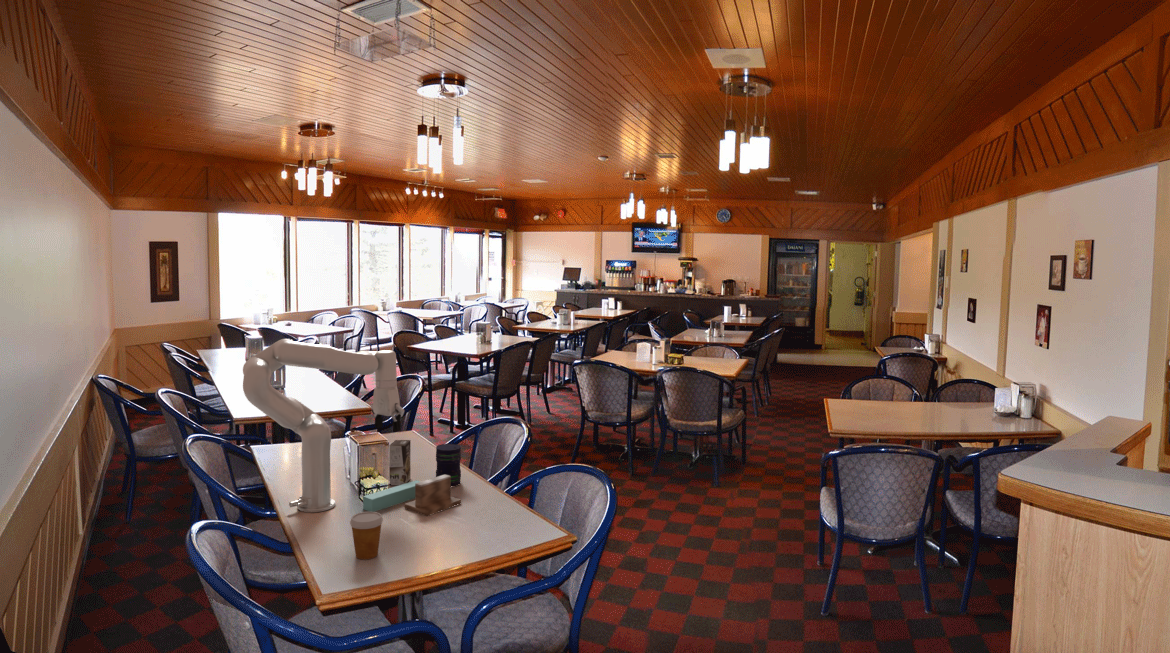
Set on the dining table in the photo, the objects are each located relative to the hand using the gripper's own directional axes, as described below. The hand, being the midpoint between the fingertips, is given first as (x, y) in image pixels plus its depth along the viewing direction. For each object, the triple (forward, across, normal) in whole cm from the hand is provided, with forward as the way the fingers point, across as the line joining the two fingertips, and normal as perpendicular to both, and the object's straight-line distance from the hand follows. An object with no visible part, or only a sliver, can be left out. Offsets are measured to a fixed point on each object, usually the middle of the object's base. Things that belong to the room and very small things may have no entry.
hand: (387, 429), depth 260 cm
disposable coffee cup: (+25, +35, -39) cm, 59 cm away
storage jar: (+27, +6, +24) cm, 36 cm away
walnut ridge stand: (+26, +20, +2) cm, 33 cm away
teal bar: (+26, +6, -3) cm, 27 cm away
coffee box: (+26, -10, +14) cm, 31 cm away
